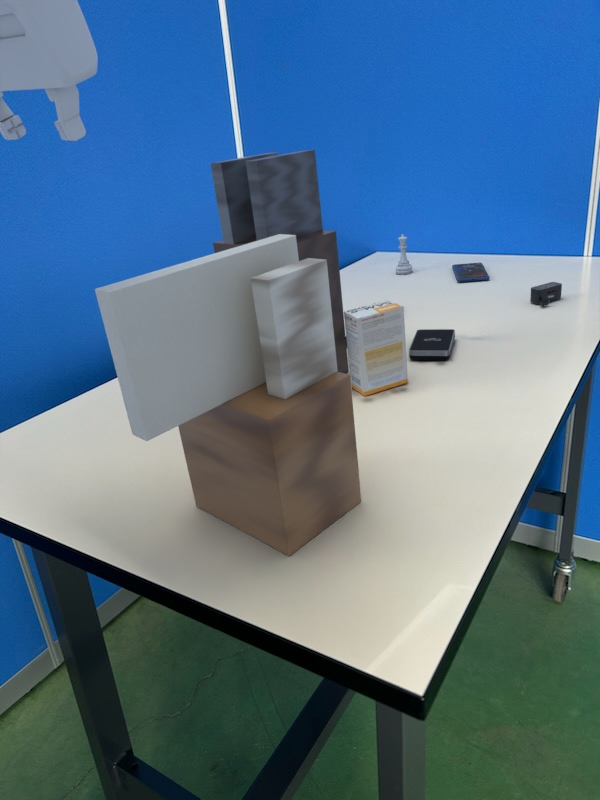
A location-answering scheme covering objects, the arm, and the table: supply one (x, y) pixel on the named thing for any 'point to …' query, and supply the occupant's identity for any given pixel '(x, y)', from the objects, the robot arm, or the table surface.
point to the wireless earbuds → (546, 293)
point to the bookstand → (280, 215)
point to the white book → (189, 333)
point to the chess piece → (403, 259)
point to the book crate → (282, 423)
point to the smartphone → (470, 272)
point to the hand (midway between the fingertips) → (44, 138)
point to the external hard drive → (432, 344)
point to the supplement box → (376, 346)
